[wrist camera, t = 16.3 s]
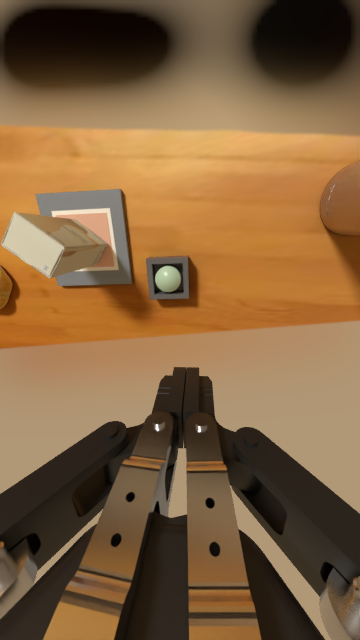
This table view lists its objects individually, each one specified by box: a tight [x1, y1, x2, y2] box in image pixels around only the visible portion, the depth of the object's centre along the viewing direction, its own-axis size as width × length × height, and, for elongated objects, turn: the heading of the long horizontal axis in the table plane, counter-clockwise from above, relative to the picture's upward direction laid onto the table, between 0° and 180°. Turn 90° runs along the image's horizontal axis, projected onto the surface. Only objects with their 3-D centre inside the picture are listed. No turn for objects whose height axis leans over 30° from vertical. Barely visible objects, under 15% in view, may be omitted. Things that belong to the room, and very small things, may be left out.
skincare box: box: [1, 212, 108, 278], centre depth 29 cm, size 6×4×12 cm
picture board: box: [36, 189, 133, 286], centre depth 35 cm, size 13×14×1 cm
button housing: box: [146, 256, 189, 299], centre depth 36 cm, size 6×6×3 cm
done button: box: [155, 265, 181, 292], centre depth 35 cm, size 4×4×2 cm
